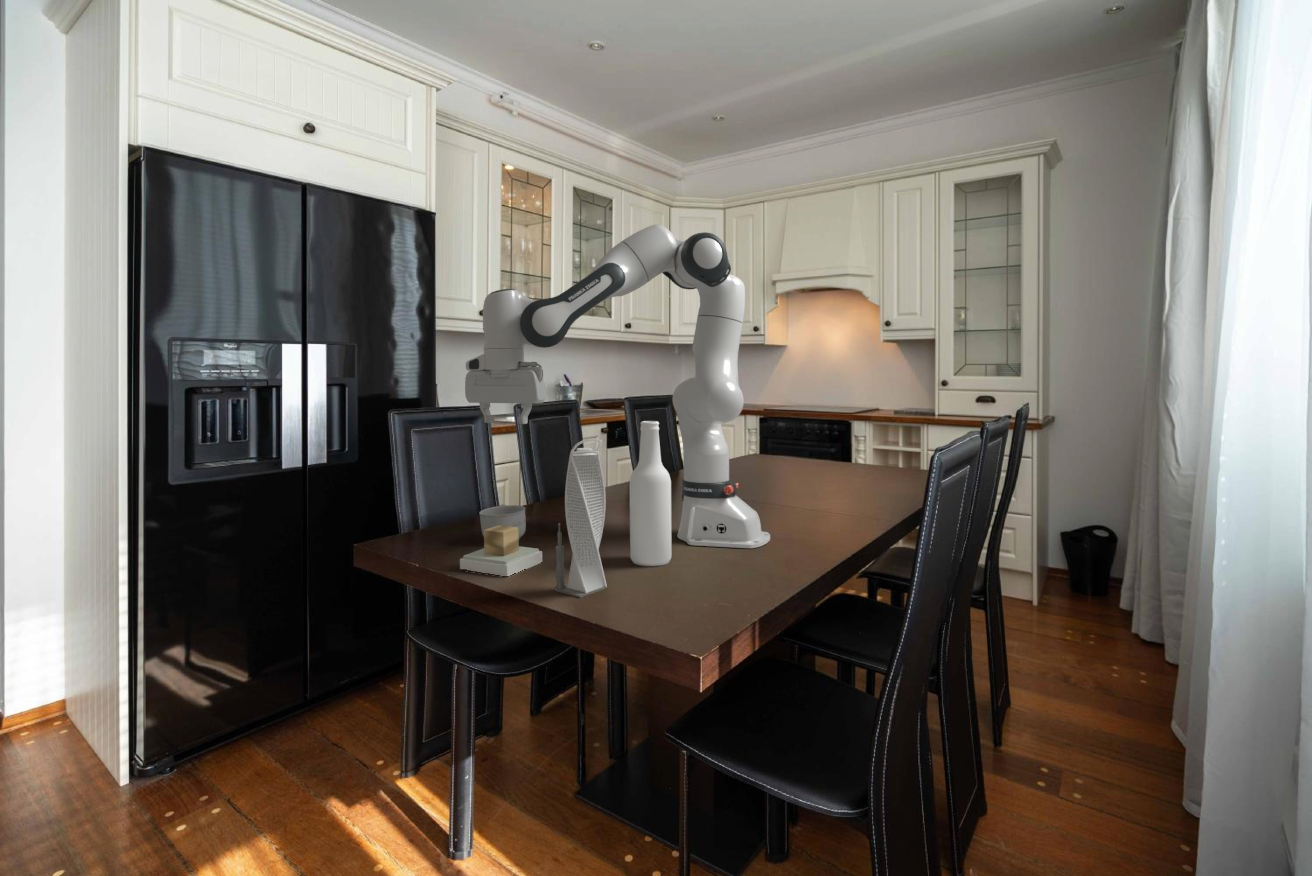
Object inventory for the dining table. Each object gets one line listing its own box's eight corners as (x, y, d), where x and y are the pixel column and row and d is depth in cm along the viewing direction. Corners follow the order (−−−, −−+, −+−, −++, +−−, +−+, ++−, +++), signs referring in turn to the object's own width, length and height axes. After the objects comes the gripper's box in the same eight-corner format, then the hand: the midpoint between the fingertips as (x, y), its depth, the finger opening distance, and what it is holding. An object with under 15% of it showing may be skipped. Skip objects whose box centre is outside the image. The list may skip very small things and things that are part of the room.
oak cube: (518, 550, 144) (518, 527, 144) (503, 556, 140) (503, 532, 139) (499, 548, 147) (499, 525, 146) (484, 553, 142) (483, 530, 142)
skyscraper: (586, 579, 134) (583, 437, 131) (616, 587, 129) (614, 439, 126) (553, 590, 127) (550, 440, 125) (584, 599, 122) (581, 443, 119)
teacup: (520, 547, 160) (519, 513, 159) (474, 547, 160) (473, 513, 159) (532, 533, 173) (532, 502, 173) (490, 533, 174) (489, 502, 173)
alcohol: (667, 568, 141) (666, 423, 138) (626, 566, 143) (624, 422, 140) (674, 556, 150) (673, 420, 147) (635, 555, 152) (634, 420, 149)
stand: (542, 562, 146) (542, 548, 146) (507, 577, 136) (506, 562, 135) (497, 556, 151) (496, 542, 151) (460, 570, 141) (459, 556, 140)
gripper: (550, 361, 153) (551, 423, 154) (478, 363, 162) (480, 421, 163) (533, 361, 147) (535, 425, 149) (459, 362, 156) (461, 423, 157)
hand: (505, 423), depth 156 cm, fingers open, 8 cm apart
